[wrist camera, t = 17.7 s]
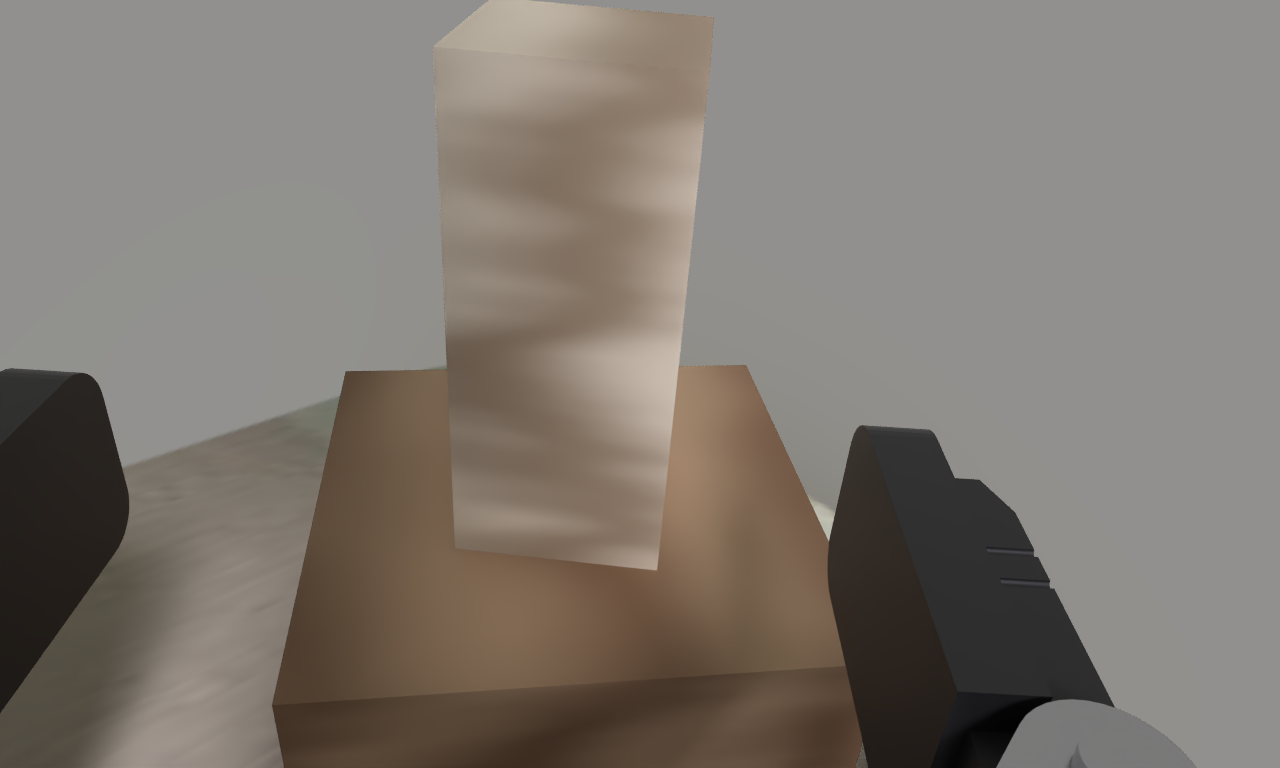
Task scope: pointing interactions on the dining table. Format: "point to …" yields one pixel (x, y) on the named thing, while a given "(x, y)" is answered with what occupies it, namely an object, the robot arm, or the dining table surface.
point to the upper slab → (563, 610)
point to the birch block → (566, 269)
